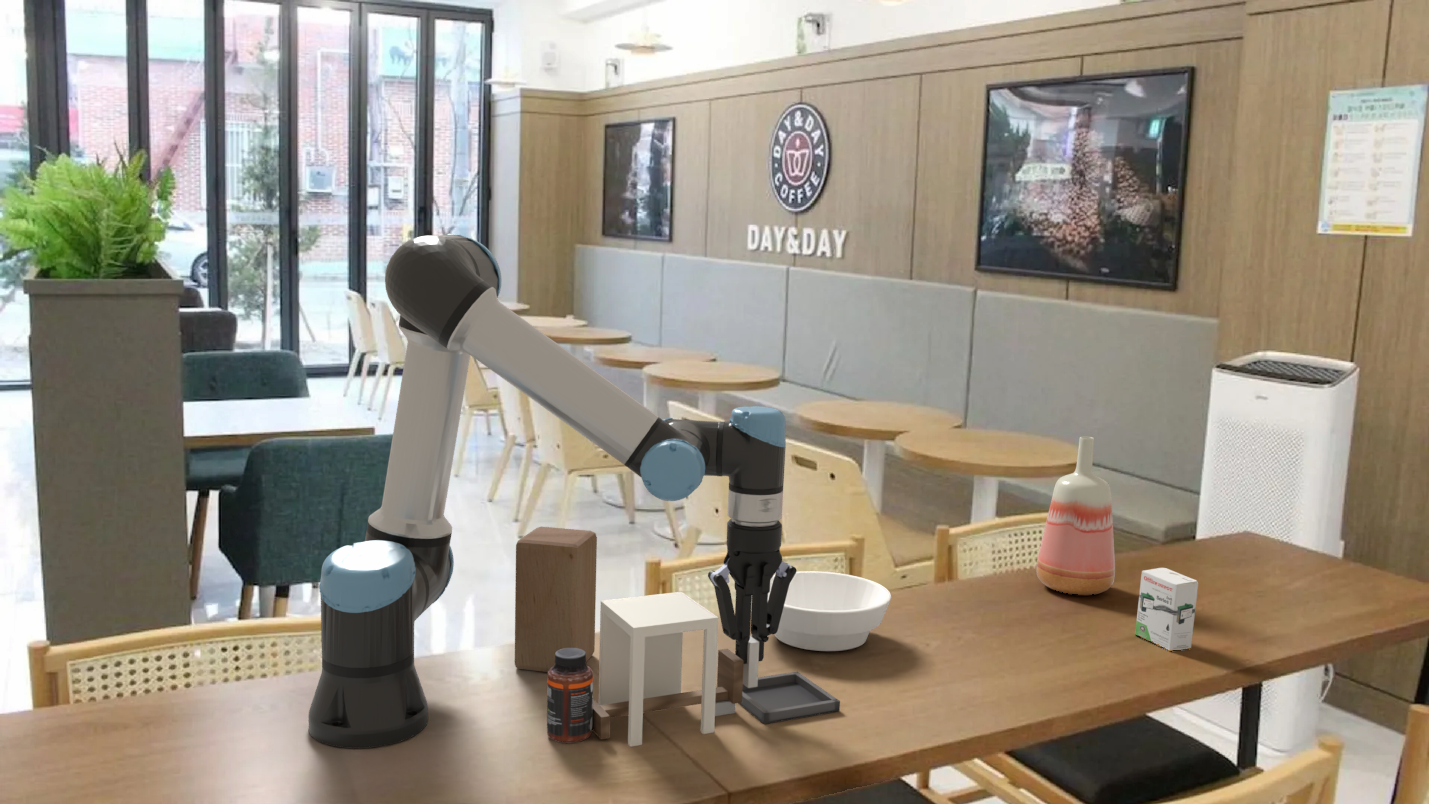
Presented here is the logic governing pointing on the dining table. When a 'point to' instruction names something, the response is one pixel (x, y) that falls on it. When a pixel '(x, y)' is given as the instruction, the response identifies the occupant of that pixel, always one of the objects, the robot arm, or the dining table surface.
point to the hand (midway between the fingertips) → (748, 683)
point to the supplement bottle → (569, 697)
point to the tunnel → (654, 654)
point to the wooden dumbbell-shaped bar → (677, 695)
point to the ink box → (1166, 608)
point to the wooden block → (554, 595)
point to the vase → (1079, 531)
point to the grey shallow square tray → (787, 698)
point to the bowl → (830, 610)
